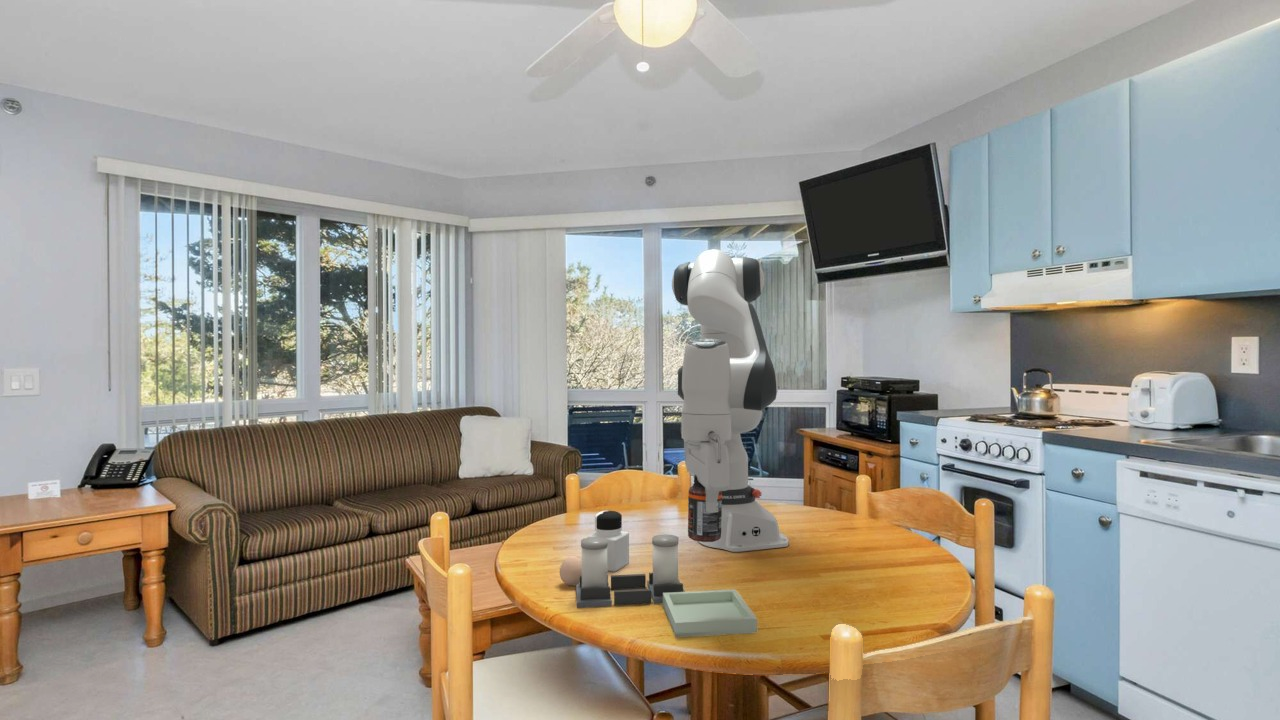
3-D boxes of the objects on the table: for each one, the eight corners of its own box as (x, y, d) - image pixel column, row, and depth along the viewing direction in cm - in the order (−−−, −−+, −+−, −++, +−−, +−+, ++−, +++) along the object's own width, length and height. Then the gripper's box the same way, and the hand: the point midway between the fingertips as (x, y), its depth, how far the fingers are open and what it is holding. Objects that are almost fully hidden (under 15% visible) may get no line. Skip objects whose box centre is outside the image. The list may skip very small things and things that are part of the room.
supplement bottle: (685, 534, 117) (686, 472, 117) (717, 534, 117) (718, 472, 118) (690, 543, 111) (691, 477, 111) (724, 543, 111) (725, 477, 112)
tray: (735, 601, 122) (735, 589, 122) (757, 632, 108) (757, 618, 108) (662, 605, 120) (662, 592, 120) (675, 637, 106) (675, 622, 106)
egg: (556, 582, 133) (556, 554, 133) (580, 579, 135) (580, 551, 135) (563, 590, 129) (563, 561, 129) (587, 587, 131) (587, 558, 131)
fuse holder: (678, 584, 132) (678, 530, 132) (687, 602, 122) (687, 544, 122) (576, 588, 129) (575, 534, 129) (577, 607, 120) (576, 548, 120)
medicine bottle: (629, 563, 146) (629, 510, 146) (615, 572, 139) (615, 517, 140) (602, 559, 149) (601, 507, 149) (586, 568, 142) (586, 514, 143)
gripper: (739, 435, 104) (738, 520, 104) (711, 423, 125) (710, 494, 125) (700, 436, 104) (700, 521, 104) (679, 423, 124) (678, 495, 124)
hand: (705, 506), depth 114 cm, fingers closed on supplement bottle, 6 cm apart
